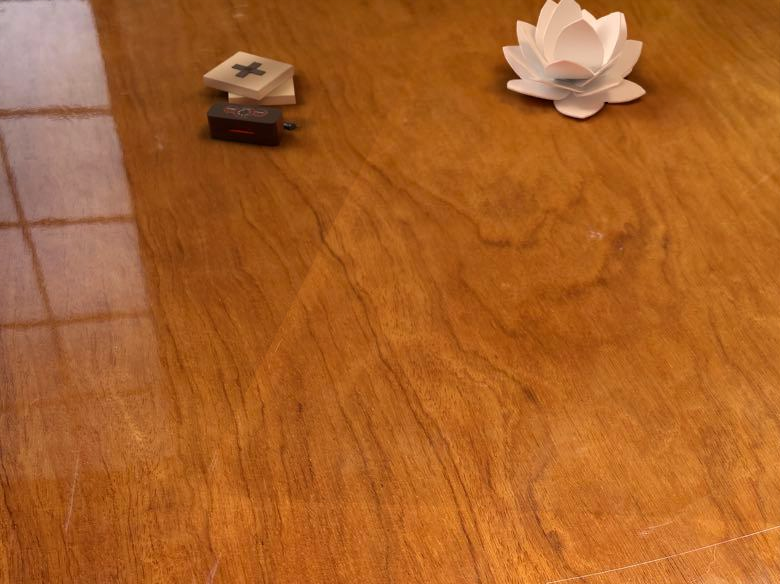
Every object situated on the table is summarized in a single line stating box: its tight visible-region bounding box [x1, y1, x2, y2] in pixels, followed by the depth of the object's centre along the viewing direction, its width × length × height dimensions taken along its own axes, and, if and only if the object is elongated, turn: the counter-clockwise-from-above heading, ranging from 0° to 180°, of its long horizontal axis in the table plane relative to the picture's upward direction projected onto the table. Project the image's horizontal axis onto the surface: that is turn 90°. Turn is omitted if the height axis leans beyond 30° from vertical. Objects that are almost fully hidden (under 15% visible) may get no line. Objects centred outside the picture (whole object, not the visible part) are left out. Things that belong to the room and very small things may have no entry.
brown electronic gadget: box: [206, 101, 300, 148], centre depth 105 cm, size 5×7×3 cm, turn 81°
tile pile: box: [202, 51, 297, 107], centre depth 110 cm, size 8×8×3 cm
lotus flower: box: [502, 0, 647, 119], centre depth 113 cm, size 14×15×9 cm
